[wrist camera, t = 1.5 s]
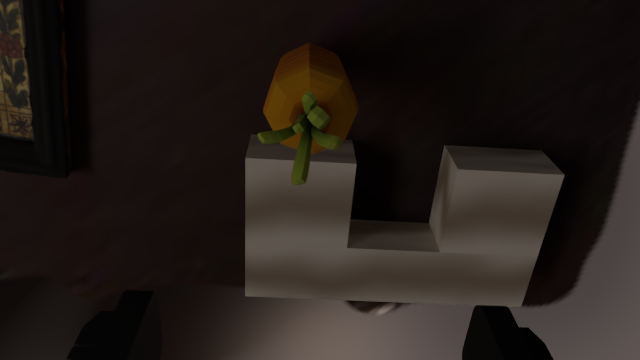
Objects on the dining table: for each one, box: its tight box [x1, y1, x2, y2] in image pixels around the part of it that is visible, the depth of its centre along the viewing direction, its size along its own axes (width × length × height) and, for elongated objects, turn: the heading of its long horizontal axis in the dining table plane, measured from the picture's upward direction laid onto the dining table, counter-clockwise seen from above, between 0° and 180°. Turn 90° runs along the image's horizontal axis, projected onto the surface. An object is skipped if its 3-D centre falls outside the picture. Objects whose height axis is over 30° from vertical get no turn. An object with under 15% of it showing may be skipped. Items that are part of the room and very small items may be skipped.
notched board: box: [245, 134, 564, 307], centre depth 40 cm, size 12×22×4 cm, turn 86°
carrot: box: [258, 43, 359, 185], centre depth 29 cm, size 5×5×15 cm
